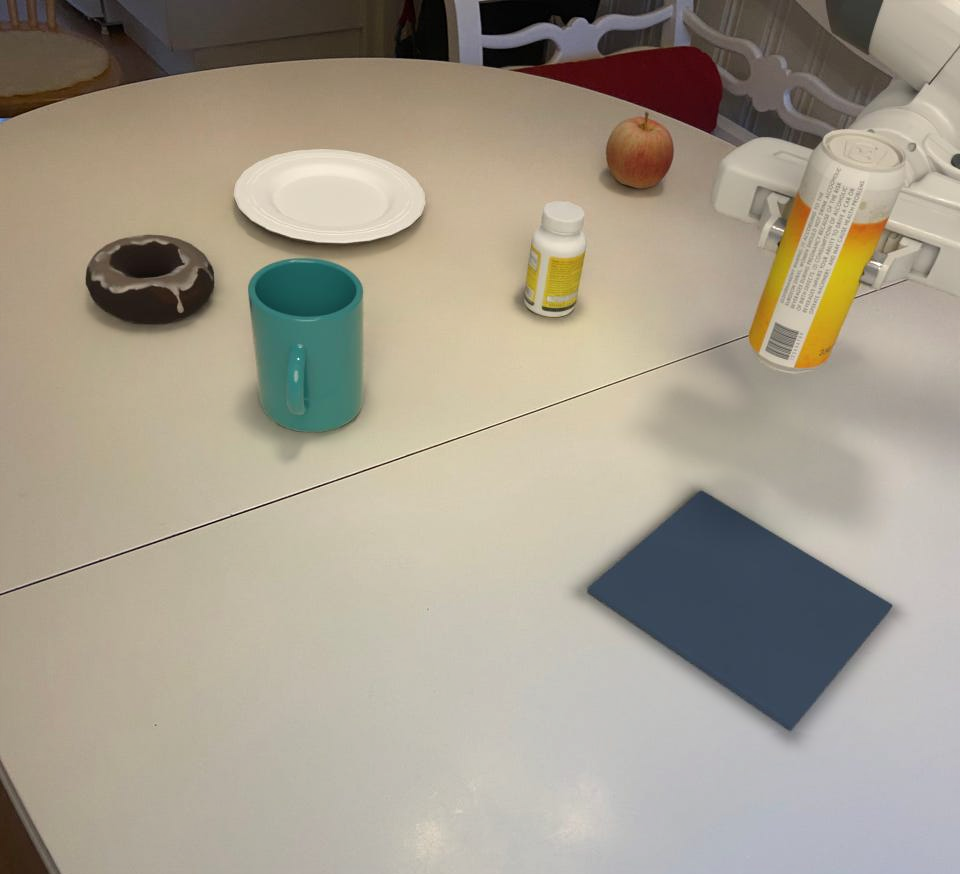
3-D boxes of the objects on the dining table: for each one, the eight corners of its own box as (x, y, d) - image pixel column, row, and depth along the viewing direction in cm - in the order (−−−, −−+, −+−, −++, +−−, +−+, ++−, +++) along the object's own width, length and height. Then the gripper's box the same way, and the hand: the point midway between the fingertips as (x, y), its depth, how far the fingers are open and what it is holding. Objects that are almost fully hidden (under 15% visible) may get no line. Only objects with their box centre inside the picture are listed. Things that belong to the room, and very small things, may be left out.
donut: (87, 334, 88) (77, 295, 85) (94, 265, 95) (85, 227, 92) (218, 330, 90) (213, 292, 87) (215, 263, 97) (210, 225, 94)
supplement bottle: (584, 303, 99) (602, 210, 91) (557, 325, 96) (574, 231, 88) (540, 283, 101) (554, 191, 93) (512, 304, 98) (524, 210, 90)
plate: (351, 281, 97) (350, 263, 96) (194, 212, 103) (191, 194, 102) (460, 205, 109) (461, 188, 108) (314, 147, 115) (314, 131, 114)
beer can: (833, 346, 73) (920, 143, 61) (815, 387, 69) (905, 180, 58) (756, 321, 74) (827, 117, 62) (735, 360, 70) (807, 152, 59)
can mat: (890, 609, 75) (893, 604, 75) (790, 731, 67) (793, 726, 66) (699, 494, 82) (701, 489, 81) (587, 592, 73) (588, 587, 73)
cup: (243, 453, 80) (228, 335, 71) (270, 367, 87) (259, 251, 79) (352, 464, 80) (350, 348, 71) (369, 377, 88) (369, 263, 79)
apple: (599, 163, 119) (611, 95, 113) (662, 171, 120) (678, 103, 113) (601, 194, 114) (615, 124, 108) (667, 202, 115) (684, 132, 108)
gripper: (761, 99, 73) (692, 163, 65) (1031, 184, 68) (992, 266, 60) (736, 181, 78) (670, 251, 70) (986, 267, 73) (945, 352, 65)
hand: (820, 258), depth 65 cm, fingers closed on beer can, 6 cm apart
